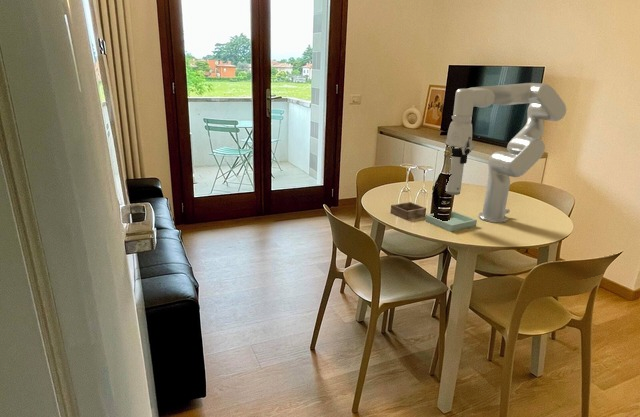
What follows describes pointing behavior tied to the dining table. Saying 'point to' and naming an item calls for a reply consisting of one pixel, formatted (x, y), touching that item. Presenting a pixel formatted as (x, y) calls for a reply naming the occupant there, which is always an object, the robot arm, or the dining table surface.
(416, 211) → the brown wooden open box
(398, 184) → the dining table surface
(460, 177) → the travel mug
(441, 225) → the tray
